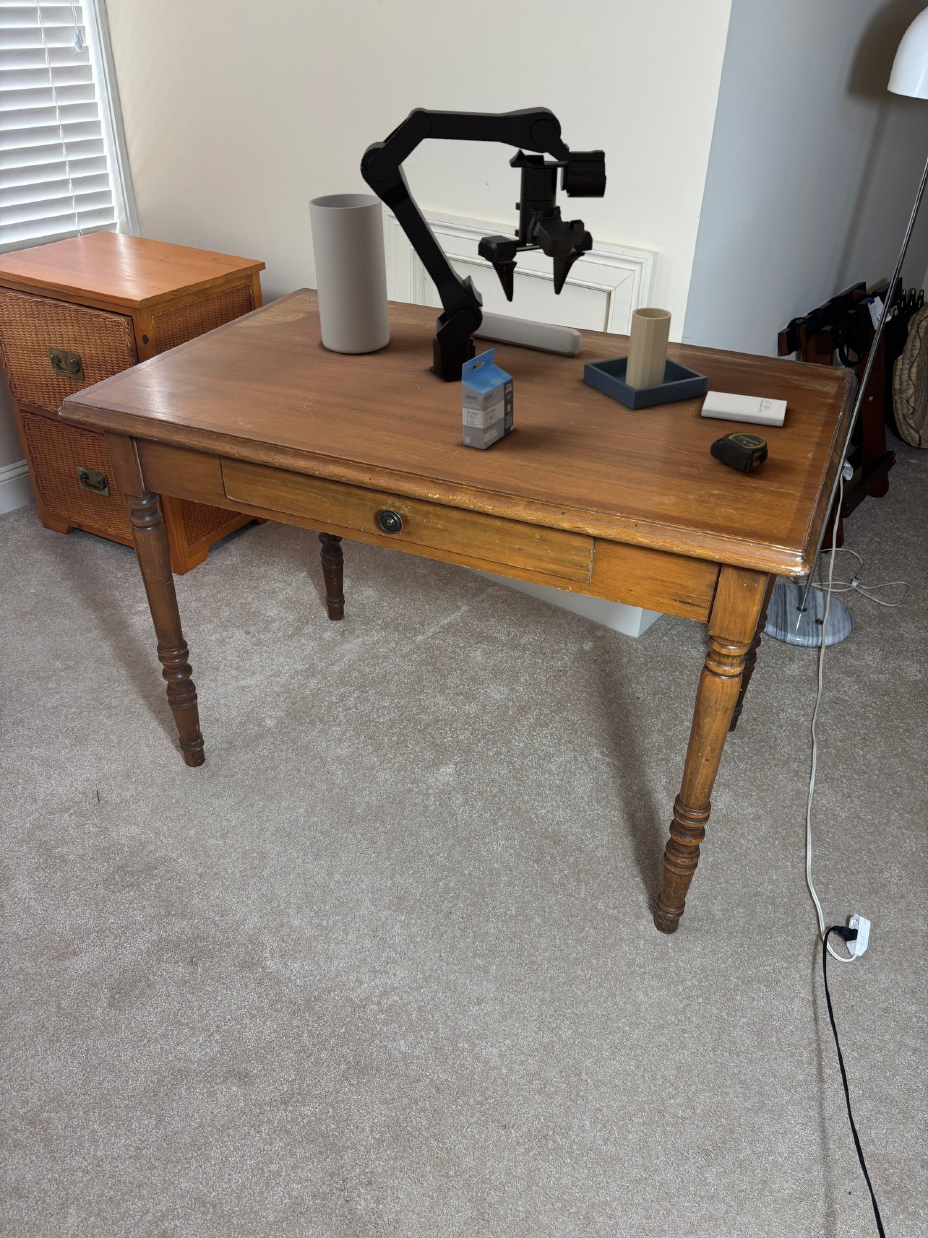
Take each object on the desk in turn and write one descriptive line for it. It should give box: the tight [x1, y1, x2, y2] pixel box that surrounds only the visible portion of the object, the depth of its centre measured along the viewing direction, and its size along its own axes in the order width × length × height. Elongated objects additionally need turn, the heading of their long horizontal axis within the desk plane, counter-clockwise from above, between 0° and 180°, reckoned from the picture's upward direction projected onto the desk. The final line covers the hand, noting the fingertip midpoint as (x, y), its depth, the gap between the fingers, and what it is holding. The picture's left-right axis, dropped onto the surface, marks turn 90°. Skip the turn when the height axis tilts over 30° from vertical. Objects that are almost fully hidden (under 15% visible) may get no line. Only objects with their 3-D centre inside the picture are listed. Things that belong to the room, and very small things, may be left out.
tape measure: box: [709, 431, 769, 473], centre depth 139 cm, size 7×7×4 cm
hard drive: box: [700, 390, 788, 427], centre depth 156 cm, size 2×8×12 cm
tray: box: [582, 355, 708, 410], centre depth 165 cm, size 15×15×3 cm
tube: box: [471, 310, 583, 357], centre depth 182 cm, size 5×5×25 cm
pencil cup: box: [625, 307, 672, 390], centre depth 162 cm, size 6×6×12 cm
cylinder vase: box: [308, 193, 391, 354], centre depth 176 cm, size 12×12×25 cm
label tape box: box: [461, 347, 515, 450], centre depth 144 cm, size 9×4×12 cm, turn 148°
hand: (533, 297), depth 164 cm, fingers open, 9 cm apart
